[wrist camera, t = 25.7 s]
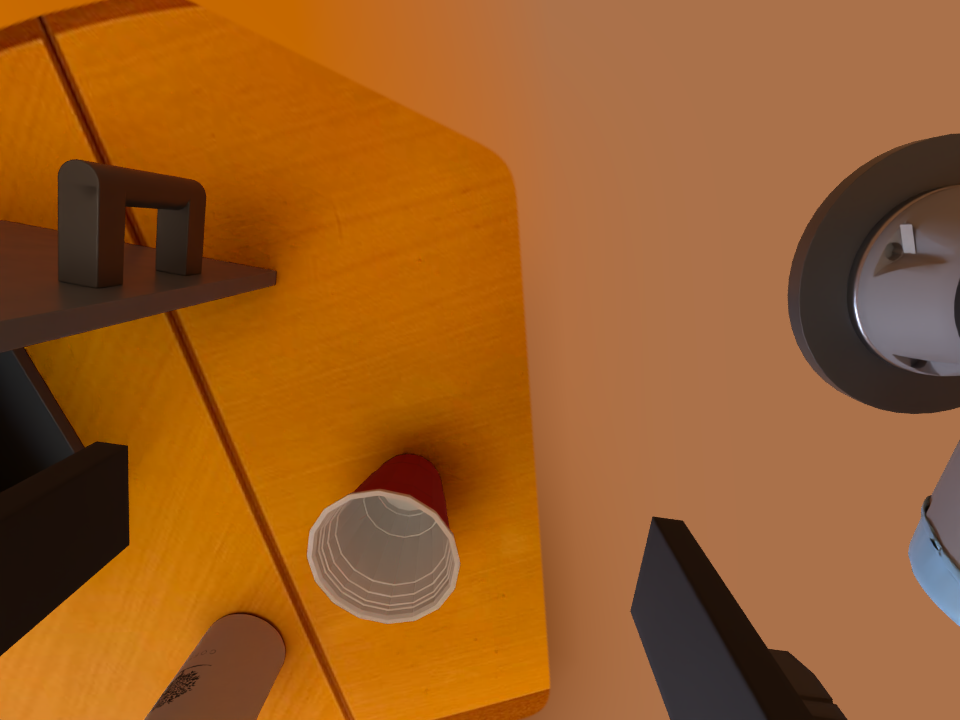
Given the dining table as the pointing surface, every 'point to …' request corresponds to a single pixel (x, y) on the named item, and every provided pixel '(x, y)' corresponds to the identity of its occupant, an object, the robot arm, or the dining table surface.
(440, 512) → the plastic cup
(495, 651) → the dining table surface
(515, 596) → the dining table surface
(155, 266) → the cupboard door
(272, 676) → the travel mug
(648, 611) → the robot arm
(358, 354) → the dining table surface
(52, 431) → the cupboard
